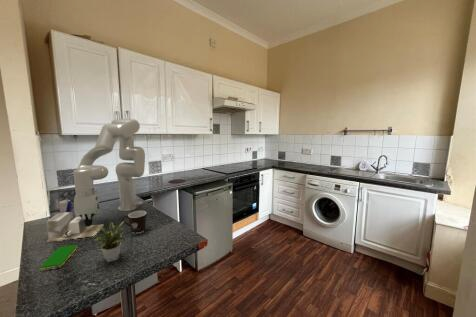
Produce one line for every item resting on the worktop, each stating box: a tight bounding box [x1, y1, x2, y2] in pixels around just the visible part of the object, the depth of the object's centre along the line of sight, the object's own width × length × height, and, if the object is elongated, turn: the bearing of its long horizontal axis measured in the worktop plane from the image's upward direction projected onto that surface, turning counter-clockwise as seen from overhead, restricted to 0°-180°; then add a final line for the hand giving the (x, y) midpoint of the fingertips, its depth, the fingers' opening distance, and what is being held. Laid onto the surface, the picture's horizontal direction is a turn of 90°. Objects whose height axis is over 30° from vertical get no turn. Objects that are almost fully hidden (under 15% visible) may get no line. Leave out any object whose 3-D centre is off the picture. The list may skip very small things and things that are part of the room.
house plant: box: [92, 220, 126, 259], centre depth 84 cm, size 14×14×16 cm
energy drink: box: [58, 199, 74, 221], centre depth 118 cm, size 5×5×12 cm
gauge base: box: [46, 212, 104, 243], centre depth 104 cm, size 20×12×10 cm, turn 105°
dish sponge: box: [39, 244, 79, 270], centre depth 85 cm, size 7×14×2 cm, turn 17°
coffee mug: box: [121, 210, 147, 233], centre depth 107 cm, size 12×9×10 cm
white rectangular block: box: [67, 216, 86, 235], centre depth 104 cm, size 4×10×6 cm, turn 15°
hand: (88, 225), depth 106 cm, fingers closed
